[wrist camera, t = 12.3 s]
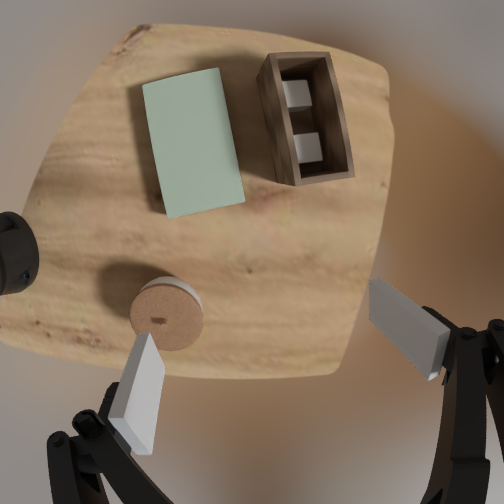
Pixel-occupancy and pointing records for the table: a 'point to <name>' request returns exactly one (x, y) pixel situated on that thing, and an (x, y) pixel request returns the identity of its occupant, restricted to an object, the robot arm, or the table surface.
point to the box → (305, 118)
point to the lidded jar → (168, 313)
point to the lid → (192, 143)
